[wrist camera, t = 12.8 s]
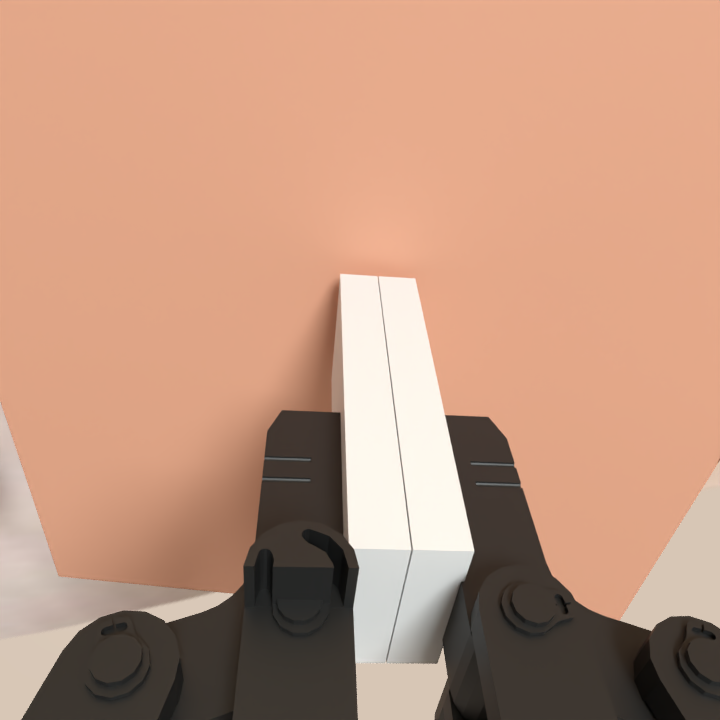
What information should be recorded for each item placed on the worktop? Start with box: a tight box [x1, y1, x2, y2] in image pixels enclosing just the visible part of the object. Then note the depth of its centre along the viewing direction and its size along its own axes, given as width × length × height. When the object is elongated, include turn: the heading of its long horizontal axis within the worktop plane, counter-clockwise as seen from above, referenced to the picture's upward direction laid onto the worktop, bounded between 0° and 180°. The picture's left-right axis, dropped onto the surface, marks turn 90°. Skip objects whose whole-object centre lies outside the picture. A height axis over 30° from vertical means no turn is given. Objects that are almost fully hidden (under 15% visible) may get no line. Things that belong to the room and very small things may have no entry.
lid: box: [0, 0, 720, 621], centre depth 14 cm, size 19×22×1 cm
